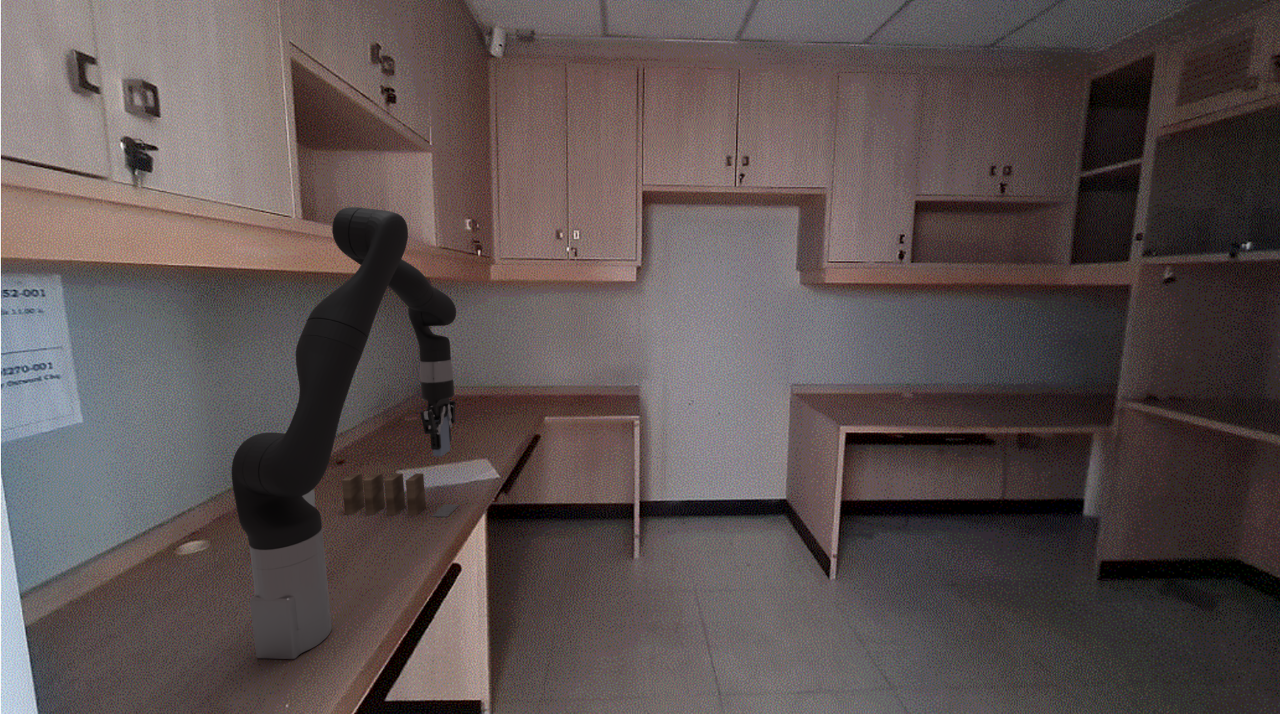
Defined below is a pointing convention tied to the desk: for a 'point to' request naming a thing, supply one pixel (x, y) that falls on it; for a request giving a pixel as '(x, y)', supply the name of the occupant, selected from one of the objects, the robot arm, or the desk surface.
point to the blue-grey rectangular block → (443, 439)
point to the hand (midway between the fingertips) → (441, 445)
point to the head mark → (445, 511)
